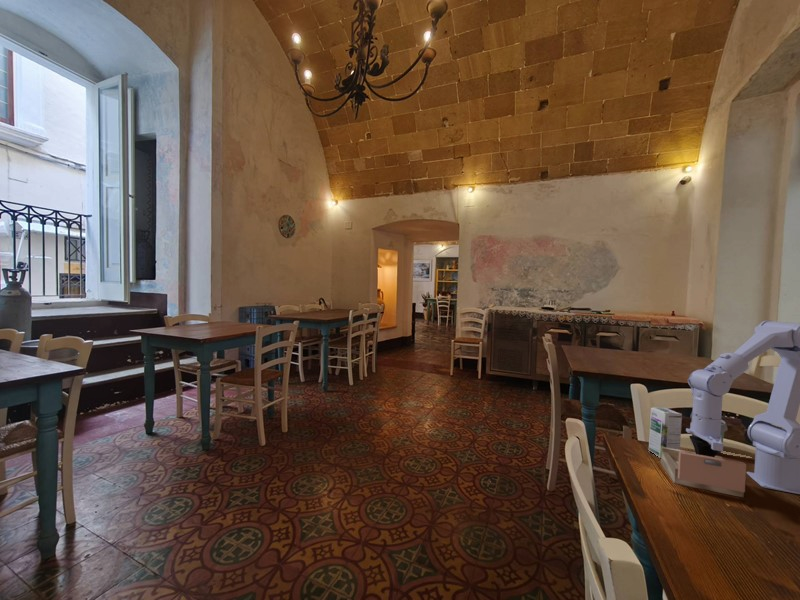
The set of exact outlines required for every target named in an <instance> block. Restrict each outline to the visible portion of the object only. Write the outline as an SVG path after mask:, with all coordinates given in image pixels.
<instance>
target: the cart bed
mask: <svg viewBox="0 0 800 600" xmlns="http://www.w3.org/2000/svg"><path fill="white" fill-rule="evenodd" d="M679 451H680V452H686V453H692V454H696V453H695V451H689V450H683V449H680V450H678V449H673V448H667V447H661V459H660V465H661V466H662V468H663V469H664V470H665V472H666V474H667V475H668V476H669V478H670V479H671V480H672V482H673V483H674V484H675V485H681V486H685V487H690V488H695V489H699V490H705V491H710V492H716V493H719V494H725V495H730V496H735V497H740V498H744V496H745V495H744V493H745V492H740V491H735V490H730V489H725V488H720V487H714V486H709V485H704V484H699V483H694V482H689V481H684V480H679V478H678V461H679ZM715 458H721V459H724V457H722V456H719V455H715Z"/></svg>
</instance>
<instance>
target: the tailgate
mask: <svg viewBox="0 0 800 600" xmlns="http://www.w3.org/2000/svg"><path fill="white" fill-rule="evenodd" d="M746 476H747V464H746V463H745V462H743V461H738V460H732V459H731V460H730V459H726V458H723V459H721V458H715V457H709V456H704V455H698V454H692V453H686V452H680V451H679V461H678V478H679V480H684V481H689V482H694V483H699V484H704V485H709V486H714V487H720V488H725V489H730V490H735V491H740V492H744V493H745V492H746Z"/></svg>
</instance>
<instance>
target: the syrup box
mask: <svg viewBox="0 0 800 600" xmlns="http://www.w3.org/2000/svg"><path fill="white" fill-rule="evenodd" d="M649 419H650V422H649V436H648V437H649V438H648V439H649V441H648V450H649V451H651V452H652V453H654V454H655V455H656V457H657V456H658V458H659V459H660V458H661V447H667V448H673V449H678V450H681V438H682V435H681V434H682V421H683V414H682V413H680V412H676V411H675V410H672V409H669V408H667V407H660V406H658V407H657V406H655V407H651V408H650V418H649ZM649 451H648V452H649ZM652 453H651V454H652ZM654 454H653V455H654ZM655 455H654V456H655Z"/></svg>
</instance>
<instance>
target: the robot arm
mask: <svg viewBox="0 0 800 600" xmlns="http://www.w3.org/2000/svg"><path fill="white" fill-rule="evenodd" d="M753 331H754V332H753V335H752V336H751V337H749V338H748V340H746V341H745V342H744V343H743V344H742V345H741V346H740V347H738V349H736V350H735V351H734V352H725V353H721V354H720V355H719V357H718V358H716V359H715V360H713V362H711V363H710V364H708V365H706V367H704V368H703V369H702V368H701V369H696V370H694V371H692V372H691V373H690V375H689V378H687V383H688V385H689V387H690V389H691V390H690V391H691V395H692V396H693V397H692V411H691V413H692V419H691V422H690V427H689V428H687V427H686V428H685V432H687V434H691V435H689V439H690V441H691V443H692V445H693V449H694V452H695V453H696V454H698V455H704V456H709V457H715V456H717V455H718V454H717V453H718V452H719V451H721V452H724V443H722V442H721V435H720V434H721V420H722V413H723V412H722V411H723V396H724V395H727V394H728V393H729V391H730V389H731V386H732V384H733V383H734V380H736V379H737V378H738V377H740V376H741V375H742V374H744V373H745V372H746V371H747V370H749V363H750V362H751V361H752V360H754V359H756V358H757V357H759V356H760V355H762V354H764V353H765V352H767V351H769V350H770V349H771V350H772V351H774V352H776V354H778V355H779V357H780V361H779V365H778V369H777V373H776V376H775V380H774V384H773V386H772V391H771V394H770V399H769V401H768V405H767V409H766V411H765V412H763V413H760V414H756V415H754V418H753V420H752V422H751V423H750V425H748V427H747V430H746V431H747V433H746V434H747V437H748V439H749V440H750V441H751V442H752V446H754V447H755V451H754V452H755V453H754V454H755V455H754V469H753V471H754V472H751V471H746V475H748V476H749V477H750V478H751V479H752V480H754V481H755V482H756V483H757V484H758V485H759V486H760V487H762V488H763V489H764V488H765V489H770V490H775V491H780V492H781V491H782V492H787V493H790V494H791V493H792V494H797V495H800V423H799V422H798V421H797V416H798V414H799V409H800V322H799V323H797V322H788V321H787V322H786V321H774V320H768V319H767V320H764V321H762V322H760V323H759V324H758V325H757V326H754V330H753ZM692 434H694V435H696V436H692Z"/></svg>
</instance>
